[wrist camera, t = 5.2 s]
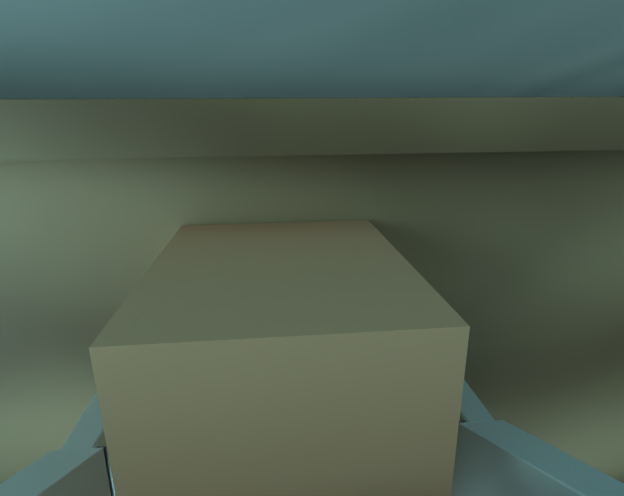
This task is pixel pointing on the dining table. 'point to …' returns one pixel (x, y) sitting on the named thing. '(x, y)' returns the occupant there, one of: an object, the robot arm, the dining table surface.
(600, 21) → the dining table surface
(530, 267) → the track
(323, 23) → the dining table surface
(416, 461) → the block
